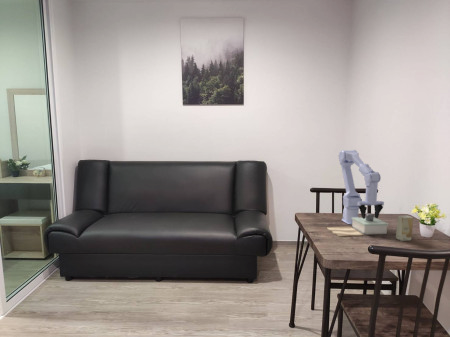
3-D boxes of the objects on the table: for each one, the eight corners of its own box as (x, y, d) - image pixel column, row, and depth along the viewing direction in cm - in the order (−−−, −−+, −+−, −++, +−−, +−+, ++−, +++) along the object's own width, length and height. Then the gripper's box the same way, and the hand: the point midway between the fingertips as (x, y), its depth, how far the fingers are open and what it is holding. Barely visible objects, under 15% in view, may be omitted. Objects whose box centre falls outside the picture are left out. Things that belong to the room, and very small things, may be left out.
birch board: (326, 228, 198) (326, 227, 198) (349, 227, 200) (349, 226, 200) (338, 236, 183) (338, 235, 183) (363, 235, 185) (363, 234, 185)
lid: (351, 219, 200) (351, 211, 199) (374, 219, 202) (374, 210, 201) (364, 226, 186) (364, 218, 185) (388, 226, 188) (389, 217, 187)
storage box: (352, 227, 200) (352, 219, 199) (373, 226, 202) (373, 218, 201) (364, 234, 187) (364, 225, 186) (386, 233, 189) (387, 224, 188)
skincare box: (401, 241, 177) (403, 217, 175) (395, 238, 181) (397, 215, 180) (412, 240, 179) (413, 217, 177) (405, 237, 183) (407, 214, 181)
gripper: (362, 195, 187) (361, 220, 188) (387, 195, 189) (386, 219, 190) (356, 193, 194) (354, 216, 195) (380, 192, 196) (378, 216, 197)
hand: (369, 218), depth 193 cm, fingers open, 7 cm apart
